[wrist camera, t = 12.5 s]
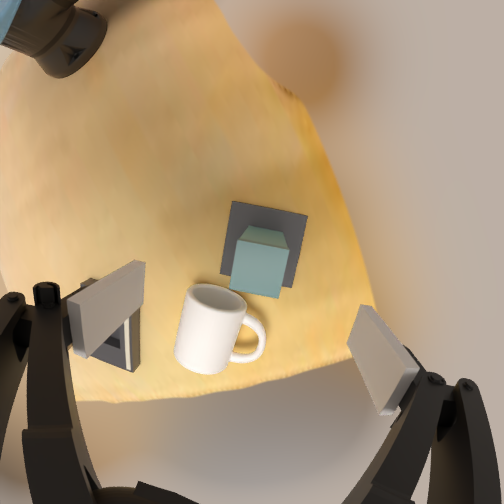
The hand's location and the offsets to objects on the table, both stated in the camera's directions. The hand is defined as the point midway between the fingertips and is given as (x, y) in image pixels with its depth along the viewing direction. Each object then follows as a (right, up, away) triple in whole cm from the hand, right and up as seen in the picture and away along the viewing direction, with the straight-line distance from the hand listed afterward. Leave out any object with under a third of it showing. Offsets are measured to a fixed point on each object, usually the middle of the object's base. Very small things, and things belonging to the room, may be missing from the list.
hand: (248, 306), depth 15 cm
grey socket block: (-23, -9, +25) cm, 36 cm away
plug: (+2, +4, +21) cm, 21 cm away
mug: (-3, -7, +24) cm, 25 cm away
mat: (+2, +4, +21) cm, 21 cm away
